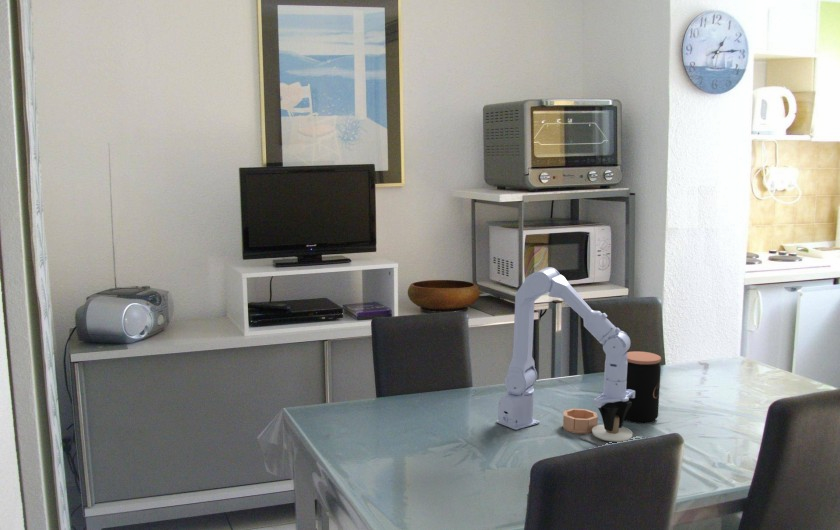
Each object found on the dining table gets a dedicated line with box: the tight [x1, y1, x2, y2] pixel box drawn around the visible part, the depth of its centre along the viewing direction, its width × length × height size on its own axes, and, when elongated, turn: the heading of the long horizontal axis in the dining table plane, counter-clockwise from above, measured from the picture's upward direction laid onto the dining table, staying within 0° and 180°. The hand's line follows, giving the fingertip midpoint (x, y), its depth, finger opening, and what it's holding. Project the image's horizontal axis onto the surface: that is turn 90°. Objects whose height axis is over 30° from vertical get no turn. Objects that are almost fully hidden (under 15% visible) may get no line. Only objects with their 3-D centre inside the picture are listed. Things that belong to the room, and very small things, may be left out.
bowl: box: [562, 408, 599, 435], centre depth 231 cm, size 9×9×4 cm
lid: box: [592, 415, 633, 442], centre depth 224 cm, size 10×10×5 cm
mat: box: [578, 432, 645, 447], centre depth 224 cm, size 14×11×1 cm
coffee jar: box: [624, 350, 662, 424], centre depth 239 cm, size 11×11×18 cm
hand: (613, 428), depth 224 cm, fingers closed on lid, 3 cm apart
